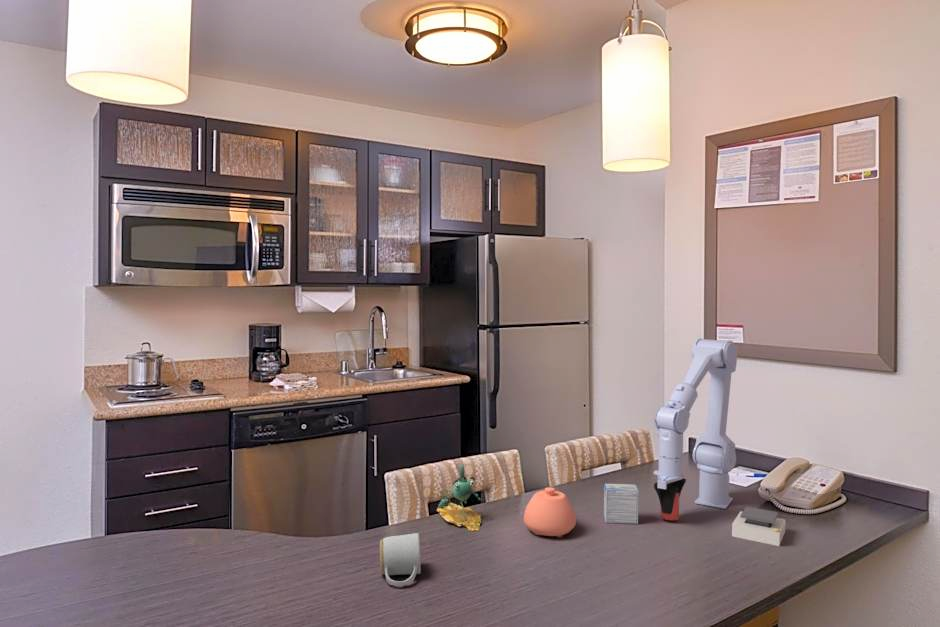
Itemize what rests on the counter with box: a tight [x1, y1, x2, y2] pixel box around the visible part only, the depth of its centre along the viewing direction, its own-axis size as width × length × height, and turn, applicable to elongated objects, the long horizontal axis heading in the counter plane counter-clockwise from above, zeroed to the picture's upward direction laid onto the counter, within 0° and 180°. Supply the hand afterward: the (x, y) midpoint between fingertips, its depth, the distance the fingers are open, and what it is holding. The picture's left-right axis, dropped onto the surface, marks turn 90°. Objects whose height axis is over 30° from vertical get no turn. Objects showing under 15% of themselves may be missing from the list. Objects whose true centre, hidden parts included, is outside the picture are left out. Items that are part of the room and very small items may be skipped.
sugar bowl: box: [523, 486, 577, 538], centre depth 151 cm, size 12×14×10 cm
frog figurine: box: [436, 464, 482, 532], centre depth 157 cm, size 10×18×15 cm, turn 26°
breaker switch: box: [740, 506, 779, 528], centre depth 149 cm, size 7×7×4 cm
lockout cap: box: [659, 492, 680, 521], centre depth 158 cm, size 4×4×6 cm
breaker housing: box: [731, 510, 787, 547], centre depth 149 cm, size 10×10×4 cm
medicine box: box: [603, 483, 640, 525], centre depth 157 cm, size 8×4×9 cm, turn 84°
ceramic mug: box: [379, 532, 422, 586], centre depth 126 cm, size 11×8×8 cm
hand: (669, 510), depth 158 cm, fingers closed on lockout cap, 4 cm apart
